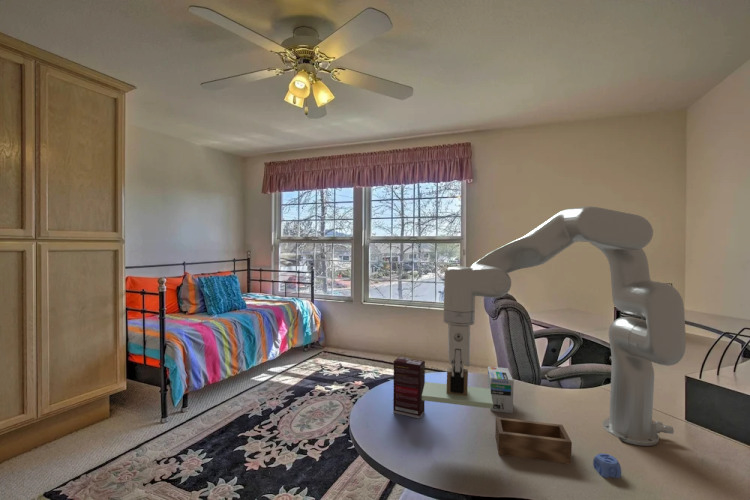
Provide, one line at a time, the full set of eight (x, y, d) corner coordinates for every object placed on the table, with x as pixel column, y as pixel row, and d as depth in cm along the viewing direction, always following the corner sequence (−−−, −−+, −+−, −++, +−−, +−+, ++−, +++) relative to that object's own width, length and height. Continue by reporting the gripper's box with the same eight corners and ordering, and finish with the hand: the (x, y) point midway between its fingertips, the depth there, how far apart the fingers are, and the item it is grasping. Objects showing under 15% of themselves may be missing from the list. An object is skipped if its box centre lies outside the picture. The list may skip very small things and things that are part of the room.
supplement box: (424, 412, 112) (425, 360, 111) (419, 419, 107) (420, 365, 106) (398, 406, 115) (398, 355, 115) (392, 413, 111) (393, 360, 110)
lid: (489, 393, 95) (490, 367, 95) (492, 408, 87) (493, 380, 87) (424, 386, 99) (425, 361, 99) (421, 400, 91) (422, 373, 90)
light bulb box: (513, 415, 110) (514, 380, 110) (489, 413, 111) (490, 378, 111) (507, 400, 121) (508, 367, 120) (486, 398, 122) (487, 365, 121)
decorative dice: (610, 470, 85) (610, 453, 85) (621, 481, 81) (622, 464, 81) (592, 469, 85) (593, 452, 85) (602, 481, 81) (603, 463, 81)
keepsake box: (561, 448, 94) (562, 424, 93) (570, 467, 86) (571, 442, 86) (495, 439, 97) (495, 417, 97) (498, 457, 89) (499, 433, 89)
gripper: (476, 325, 83) (473, 405, 84) (473, 310, 99) (471, 378, 100) (442, 323, 85) (440, 401, 86) (444, 309, 101) (443, 375, 102)
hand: (456, 388), depth 93 cm, fingers closed on lid, 3 cm apart
